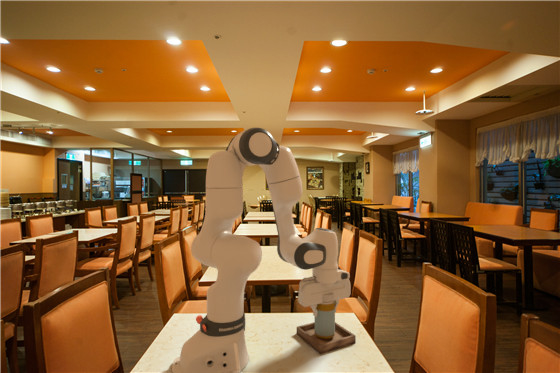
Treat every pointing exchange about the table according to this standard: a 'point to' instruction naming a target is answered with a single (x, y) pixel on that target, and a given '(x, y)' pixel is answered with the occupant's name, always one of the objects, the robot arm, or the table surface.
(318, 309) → the bottle
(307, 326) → the serving tray
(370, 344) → the table surface
